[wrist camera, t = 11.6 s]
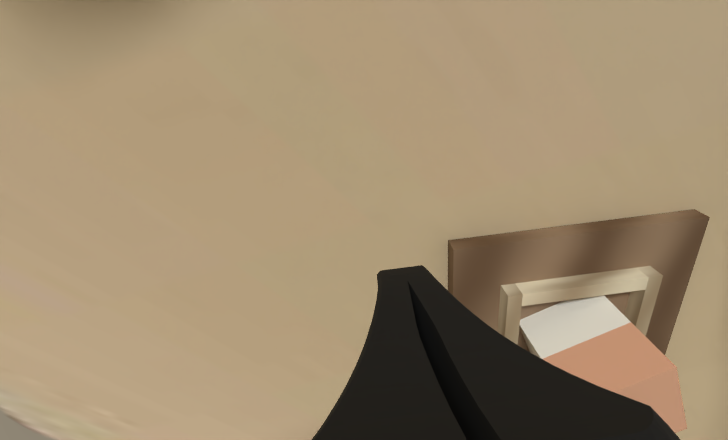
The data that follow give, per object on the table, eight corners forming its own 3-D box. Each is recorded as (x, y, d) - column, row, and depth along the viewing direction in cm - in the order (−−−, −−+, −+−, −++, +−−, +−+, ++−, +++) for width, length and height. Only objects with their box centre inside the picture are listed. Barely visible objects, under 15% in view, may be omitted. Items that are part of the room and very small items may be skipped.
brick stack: (595, 287, 24) (676, 367, 18) (610, 342, 26) (687, 428, 20) (517, 320, 24) (572, 408, 19) (537, 372, 26) (593, 463, 21)
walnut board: (694, 209, 23) (725, 225, 21) (640, 386, 29) (661, 410, 28) (448, 240, 22) (459, 259, 21) (447, 414, 29) (456, 440, 27)
